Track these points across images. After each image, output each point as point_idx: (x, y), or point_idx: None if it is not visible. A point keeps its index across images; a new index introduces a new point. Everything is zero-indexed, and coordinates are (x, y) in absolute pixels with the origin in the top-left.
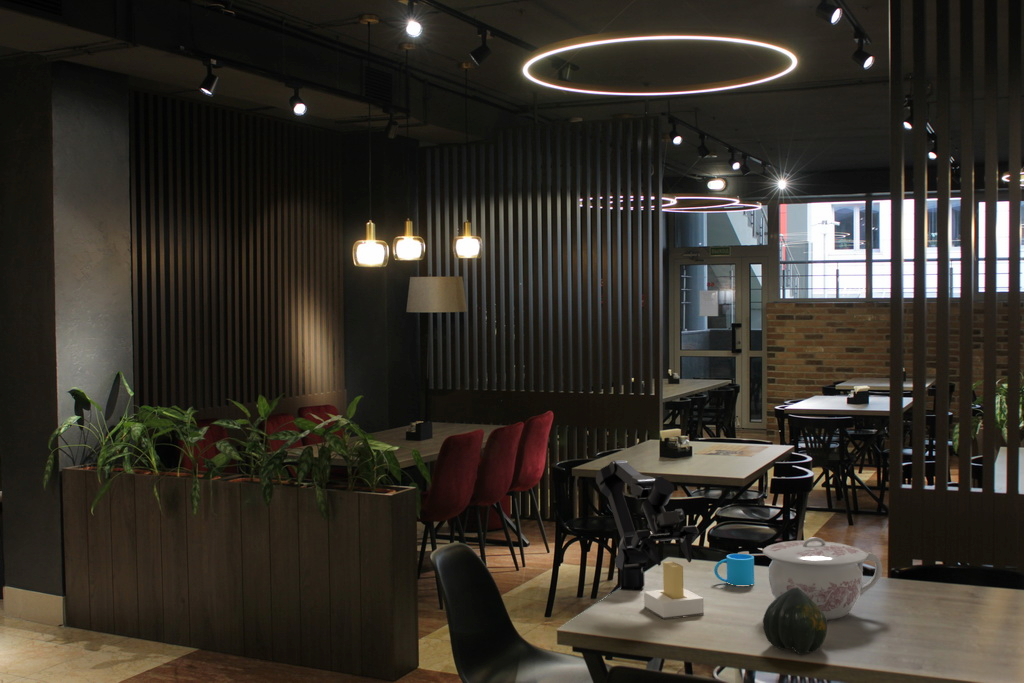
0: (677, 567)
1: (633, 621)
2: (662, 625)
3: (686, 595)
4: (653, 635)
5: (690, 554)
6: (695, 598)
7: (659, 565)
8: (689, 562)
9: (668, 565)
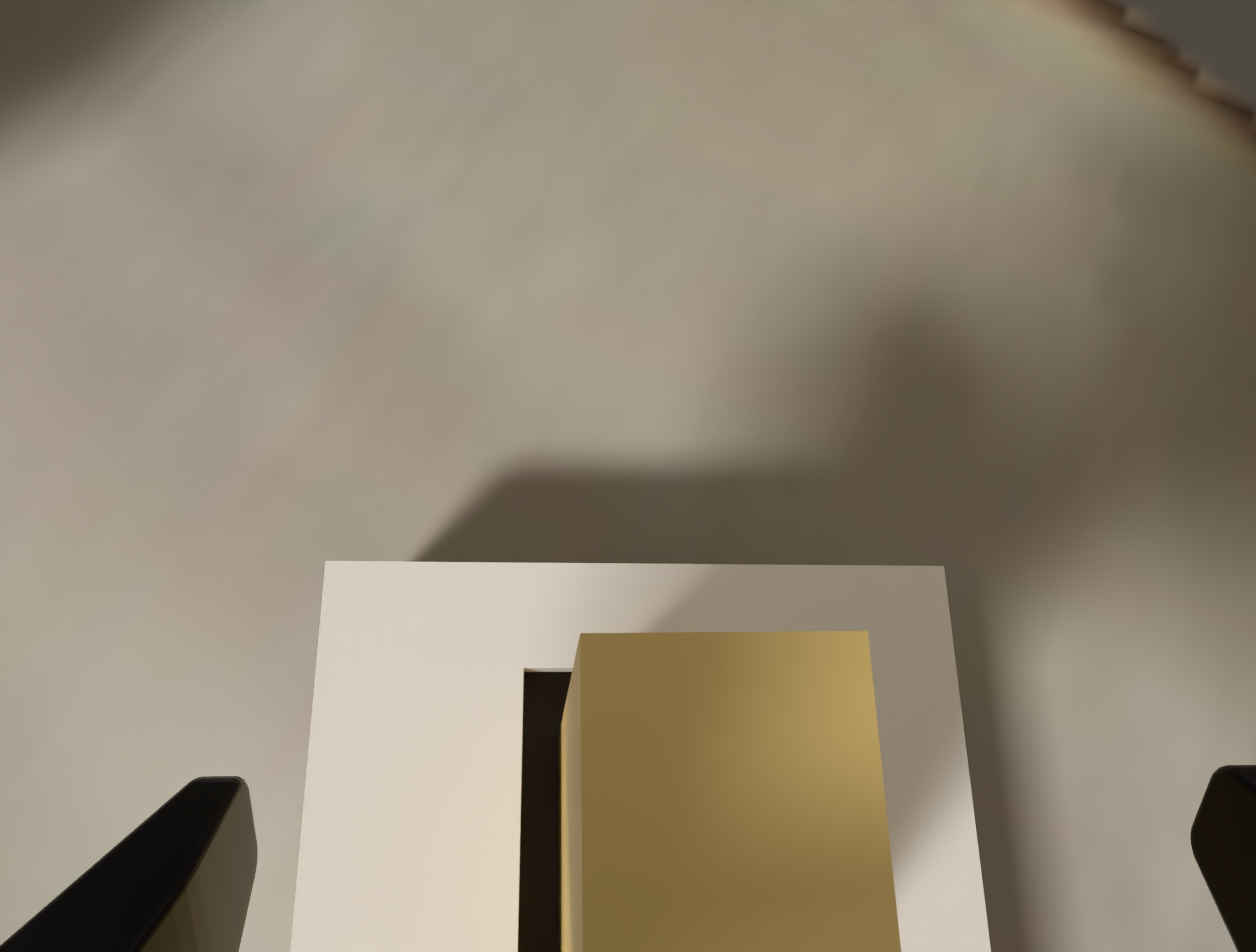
0: (743, 634)
1: (1207, 669)
2: (956, 434)
3: (475, 788)
4: (1127, 217)
5: (77, 904)
6: (439, 587)
7: (1212, 827)
8: (249, 839)
9: (894, 916)
